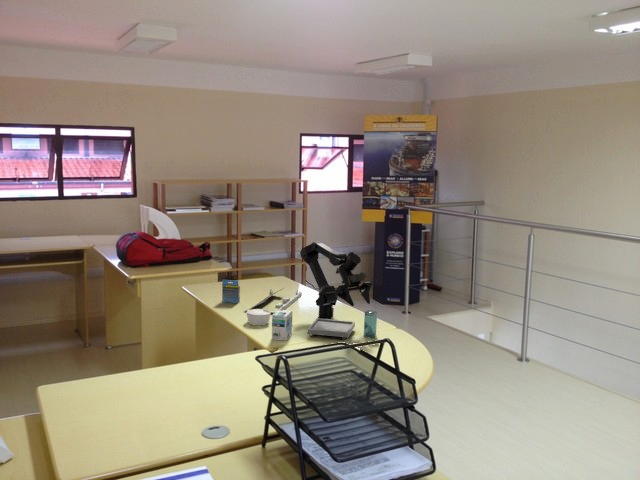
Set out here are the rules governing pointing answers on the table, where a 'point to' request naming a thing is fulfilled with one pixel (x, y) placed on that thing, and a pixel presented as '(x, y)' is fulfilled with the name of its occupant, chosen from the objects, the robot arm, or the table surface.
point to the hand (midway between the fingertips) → (361, 304)
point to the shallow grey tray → (331, 328)
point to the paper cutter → (285, 300)
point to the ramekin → (258, 316)
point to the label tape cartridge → (230, 291)
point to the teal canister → (370, 324)
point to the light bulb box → (281, 324)
